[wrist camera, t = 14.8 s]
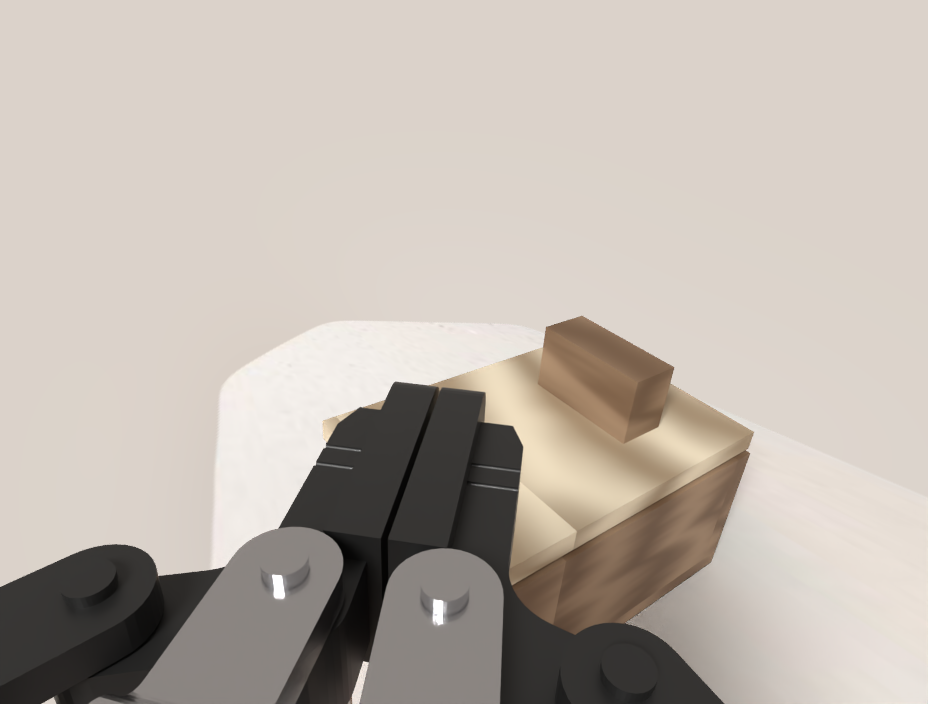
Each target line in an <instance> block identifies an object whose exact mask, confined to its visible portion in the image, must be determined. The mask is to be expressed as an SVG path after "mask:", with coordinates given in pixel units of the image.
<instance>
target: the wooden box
mask: <svg viewBox="0 0 928 704" xmlns="http://www.w3.org/2000/svg"><path fill="white" fill-rule="evenodd" d="M749 455H750V453H749V452H747V451H746V450H745V451H743V452H741V453H740V454H738V455H736V456H735V457H733V458H731V459H729V460H728V461H726V462H724V463H722V464H721V465H719V466H717V467H716V468H714V469H712V470H710V471H709V472H707V473H705V474H703V475H702V476H700V477H698V478H697V479H695V480H693V481H691V482H690V483H688V484H686V485H684V486H683V487H681V488H679V489H678V490H676V491H674V492H672V493H671V494H669V495H667V496H665V497H664V498H662V499H660V500H659V501H657V502H655V503H653V504H652V505H650V506H648V507H646V508H645V509H643V510H641V511H640V512H638V513H636V514H634V515H633V516H631V517H629V518H627V519H626V520H624V521H622V522H621V523H619V524H617V525H615V526H614V527H612V528H610V529H608V530H607V531H605V532H603V533H602V534H600V535H598V536H596V537H595V538H593V539H591V540H589V541H588V542H586V543H584V544H583V545H581V546H579V547H577V548H576V549H574V550H572V551H570V552H569V553H567V554H565V555H564V556H562V557H560V558H558V559H557V560H555V561H553V562H551V563H550V564H548V565H546V566H545V567H543V568H541V569H539V570H538V571H536V572H534V573H532V574H531V575H529V576H527V577H526V578H524V579H522V580H520V581H519V582H517V583H515V584H513V585H512V587H513V589H514V591H515V593H516V594H517V596H518V598H519V599H520V600H521V601H522V603H523V604H524V605H525V606H526V607H527V608H528V609H529V610H530V611H531V612H533V613H534V614H536V615H537V616H538V617H540V618H541V619H543V620H545V621H547V622H549V623H550V624H552V625H555V626H557V627H559V628H561V629H563V630H565V631H568V632H570V633H572V634H574V635H576V634H577V633H579V632H580V631H582V630H584V629H585V628H588V627H590V626H593V625H597V624H602V623H622V624H624V623H625V622H627V621H628V620H630V619H631V618H632V617H634V616H635V615H637V614H638V613H640V612H641V611H642V610H644V609H645V608H647V607H648V606H649V605H651V604H652V603H654V602H655V601H657V600H658V599H659V598H661V597H662V596H664V595H665V594H667V593H668V592H669V591H671V590H672V589H674V588H675V587H676V586H678V585H679V584H681V583H682V582H684V581H685V580H686V579H688V578H689V577H691V576H692V575H693V574H695V573H696V572H698V571H699V570H701V569H702V568H703V567H705V566H706V565H708V564H709V563H710V562H711V561H712V558H713V555H714V552H715V549H716V547H717V544H718V541H719V538H720V536H721V533H722V530H723V527H724V524H725V522H726V519H727V516H728V513H729V511H730V508H731V505H732V502H733V499H734V497H735V494H736V491H737V488H738V486H739V483H740V480H741V477H742V474H743V472H744V469H745V466H746V463H747V461H748V458H749Z"/></svg>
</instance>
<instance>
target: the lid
mask: <svg viewBox="0 0 928 704" xmlns="http://www.w3.org/2000/svg"><path fill="white" fill-rule="evenodd" d="M673 370H674V367H673V366H671V365H669V364H667V363H666V362H664V361H662V360H660V359H658V358H657V357H655V356H653V355H651V354H649V353H647V352H646V351H644V350H642V349H640V348H638V347H637V346H635V345H633V344H631V343H630V342H628V341H626V340H624V339H623V338H621V337H619V336H617V335H615V334H614V333H612V332H610V331H608V330H606V329H605V328H603V327H601V326H599V325H597V324H596V323H594V322H592V321H590V320H589V319H587V318H585V317H583V316H580V317H577V318H574V319H571V320H567V321H564V322H561V323H558V324H554V325H551V326H548V327H546V332H545V338H544V345H543V348H540V349H537V350H534V351H531V352H528V353H525V354H522V355H519V356H516V357H513V358H510V359H507V360H504V361H501V362H498V363H495V364H492V365H489V366H486V367H483V368H480V369H477V370H474V371H471V372H468V373H465V374H462V375H459V376H456V377H453V378H450V379H447V380H444V381H441V382H438V383H435V384H432V385H429V386H436V387H439V391H440V390H441V388H442V387H446V388H455V389H463V390H472V391H480V392H485V393H486V406H485V421H484V422H485V423H494V424H502V425H510V426H513V427H514V429H515V431H516V433H517V435H518V437H519V439H520V441H521V443H522V445H523V457H522V466H521V476H520V485H519V495H518V504H517V514H516V523H515V531H514V539H513V547H512V555H511V563H510V572H509V577H510V582H511V584H512V585H513V584H515V583H517V582H519V581H520V580H522V579H524V578H526V577H527V576H529V575H531V574H532V573H534V572H536V571H538V570H539V569H541V568H543V567H545V566H546V565H548V564H550V563H551V562H553V561H555V560H557V559H558V558H560V557H562V556H564V555H565V554H567V553H569V552H570V551H572V550H574V549H576V548H577V547H579V546H581V545H583V544H584V543H586V542H588V541H589V540H591V539H593V538H595V537H596V536H598V535H600V534H602V533H603V532H605V531H607V530H608V529H610V528H612V527H614V526H615V525H617V524H619V523H621V522H622V521H624V520H626V519H627V518H629V517H631V516H633V515H634V514H636V513H638V512H640V511H641V510H643V509H645V508H646V507H648V506H650V505H652V504H653V503H655V502H657V501H659V500H660V499H662V498H664V497H665V496H667V495H669V494H671V493H672V492H674V491H676V490H678V489H679V488H681V487H683V486H684V485H686V484H688V483H690V482H691V481H693V480H695V479H697V478H698V477H700V476H702V475H703V474H705V473H707V472H709V471H710V470H712V469H714V468H716V467H717V466H719V465H721V464H722V463H724V462H726V461H728V460H729V459H731V458H733V457H735V456H736V455H738V454H740V453H741V452H743V451H745V450H747V449H748V448H749V445H750V442H751V439H752V436H753V433H754V432H753V431H751V430H749V429H748V428H746V427H744V426H743V425H741V424H739V423H737V422H736V421H734V420H732V419H731V418H729V417H727V416H725V415H724V414H722V413H720V412H718V411H717V410H715V409H713V408H712V407H710V406H708V405H706V404H705V403H703V402H701V401H700V400H698V399H696V398H694V397H693V396H691V395H689V394H688V393H686V392H684V391H682V390H681V389H679V388H677V387H675V386H674V385H672V384H670V382H671V378H672V374H673ZM384 402H385V400H384V401H381V402H378V403H375V404H372V405H369V406H366V407H363V408H370V409H378V410H381V408H382V406H383V404H384ZM354 411H356V410H354ZM354 411H351V412H348V413H345V414H342V415H339V416H336V417H333V418H330V419H327V420H324V421H323V439H324V440H325V441H326V442H328V440H329V438H330V436H331V435H332V433H333V431H334V429H335V427H336V426H337V424H338V423H339V422H340V421H342V420H343V419H345V418H346V417H347V416H349V415H350V414H351V413H353V412H354Z"/></svg>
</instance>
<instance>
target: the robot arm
mask: <svg viewBox="0 0 928 704" xmlns="http://www.w3.org/2000/svg"><path fill="white" fill-rule="evenodd" d="M485 406H486V393H485V392H480V391H472V390H463V389H455V388H446V387H442V388H441V390H440V391H439V387H436V386H428V385H419V384H411V383H402V382H394V384H393V385H392V387H391V389H390V391H389V393H388V395H387V397H386V400H385V402H384V404H383V406H382V408H381V410H378V409H370V408H362V407H360V408H358V409H357V410H356V411H354V412H353V413H351V414H350V415H349V416H347V417H346V418H345V419H343V420H342V421H340V422H339V423H338V424H337V426H336V427H335V429H334V431H333V433H332V435H331V436H330V438H329V440H328V442H327V443H326V448H324V449H323V451H322V452H321V454H320V456H319V458H318V459H317V461H316V466H313V468H312V470H311V472H310V474H309V475H308V477H307V479H306V481H305V482H304V484H303V486H302V488H301V490H300V491H299V493H298V495H297V497H296V498H295V500H294V502H293V504H292V505H291V507H290V509H289V511H288V513H287V514H286V516H285V518H284V520H283V521H282V523H281V525H280V527H279V529H275V530H271V531H268V532H266V533H263V534H261V535H259V536H257V537H255V538H253V539H252V540H250V541H248V542H247V543H246V544H244V545H243V546H242V547H241V548H240V549H239V550H238V551H237V552H236V553H235V555H234V556H233V557H232V558H231V560H230V561H229V563H228V564H227V565H226V567H222V568H219V569H213V570H207V571H199V572H190V573H181V574H173V575H164V576H158V573H157V569H156V565H155V563H154V561H153V559H152V558H151V557H150V556H149V555H148V554H147V553H146V552H144V551H143V550H141V549H139V548H136V547H133V546H128V545H117V544H115V545H103V546H98V547H93V548H90V549H86V550H83V551H80V552H78V553H75V554H73V555H70V556H68V557H66V558H64V559H61V560H59V561H57V562H55V563H53V564H51V565H48V566H46V567H44V568H42V569H39V570H37V571H35V572H33V573H30V574H28V575H26V576H24V577H22V578H19V579H17V580H15V581H13V582H10V583H8V584H6V585H4V586H2V587H0V704H41V703H43V702H45V701H47V700H49V699H50V698H52V697H54V699H55V701H56V704H352V694H353V691H354V688H355V685H356V682H357V679H358V676H359V673H360V669H361V666H362V663H363V661H365V662H369V665H368V669H367V673H366V678H365V682H364V686H363V691H362V695H361V699H360V704H724V703H723V702H722V701H721V700H720V699H719V698H718V697H717V695H716V694H715V693H714V692H713V691H712V690H711V689H710V688H709V687H708V686H707V685H706V684H705V683H704V682H703V681H702V679H701V678H700V677H699V676H698V675H697V674H696V673H695V672H694V671H693V670H692V669H691V668H690V667H689V666H688V664H687V663H686V662H685V661H684V660H683V659H682V658H681V657H680V656H679V655H678V654H677V653H676V652H675V651H674V650H673V649H672V648H671V647H670V646H669V645H668V644H667V643H666V642H664V641H663V640H661V639H660V638H659V637H657V636H655V635H654V634H652V633H650V632H648V631H646V630H644V629H641V628H639V627H636V626H632V625H628V624H622V623H602V624H597V625H593V626H590V627H588V628H585V629H584V630H582V631H580V632H579V633H577V634H576V635H574V634H572V633H570V632H568V631H565V630H563V629H561V628H559V627H557V626H555V625H552V624H550V623H549V622H547V621H545V620H543V619H541V618H540V617H538V616H537V615H536V614H534V613H533V612H531V611H530V610H529V609H528V608H527V607H526V606H525V605H524V604H523V603H522V601H521V600H520V599H519V598H518V596H517V594H516V593H515V591H514V589H513V587H512V584H511V582H510V577H509V572H510V563H511V555H512V547H513V539H514V531H515V523H516V514H517V504H518V495H519V485H520V476H521V466H522V457H523V445H522V443H521V441H520V439H519V437H518V435H517V433H516V431H515V429H514V427H513V426H510V425H502V424H494V423H485V422H484V421H485Z"/></svg>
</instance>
